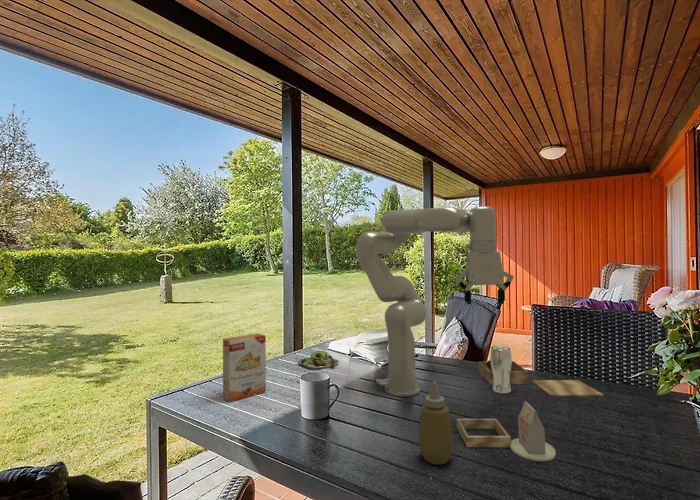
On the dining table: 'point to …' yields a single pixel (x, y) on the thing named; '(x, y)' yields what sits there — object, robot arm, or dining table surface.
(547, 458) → the coaster
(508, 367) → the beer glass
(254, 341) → the cracker box
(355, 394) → the dining table surface
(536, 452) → the gable top carton
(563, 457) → the dining table surface
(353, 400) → the dining table surface
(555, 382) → the wooden board
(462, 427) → the holder
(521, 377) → the display tray
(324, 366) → the salad plate
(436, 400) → the squeeze bottle
